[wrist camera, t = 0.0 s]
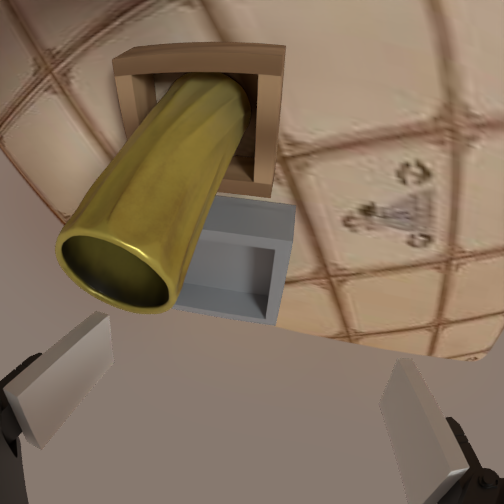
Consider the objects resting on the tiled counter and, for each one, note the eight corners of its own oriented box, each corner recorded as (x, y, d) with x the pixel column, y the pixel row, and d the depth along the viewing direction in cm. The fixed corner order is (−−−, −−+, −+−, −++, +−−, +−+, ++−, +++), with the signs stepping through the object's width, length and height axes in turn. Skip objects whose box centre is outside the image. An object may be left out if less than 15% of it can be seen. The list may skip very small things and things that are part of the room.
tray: (138, 188, 26) (119, 219, 24) (295, 205, 25) (292, 241, 23) (165, 277, 37) (155, 305, 35) (279, 295, 36) (275, 325, 34)
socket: (134, 47, 16) (111, 59, 14) (285, 45, 15) (282, 56, 14) (152, 162, 24) (137, 184, 22) (274, 173, 23) (270, 198, 21)
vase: (242, 153, 22) (187, 333, 13) (164, 136, 22) (68, 295, 13) (259, 79, 18) (191, 248, 9) (169, 63, 17) (24, 204, 8)
